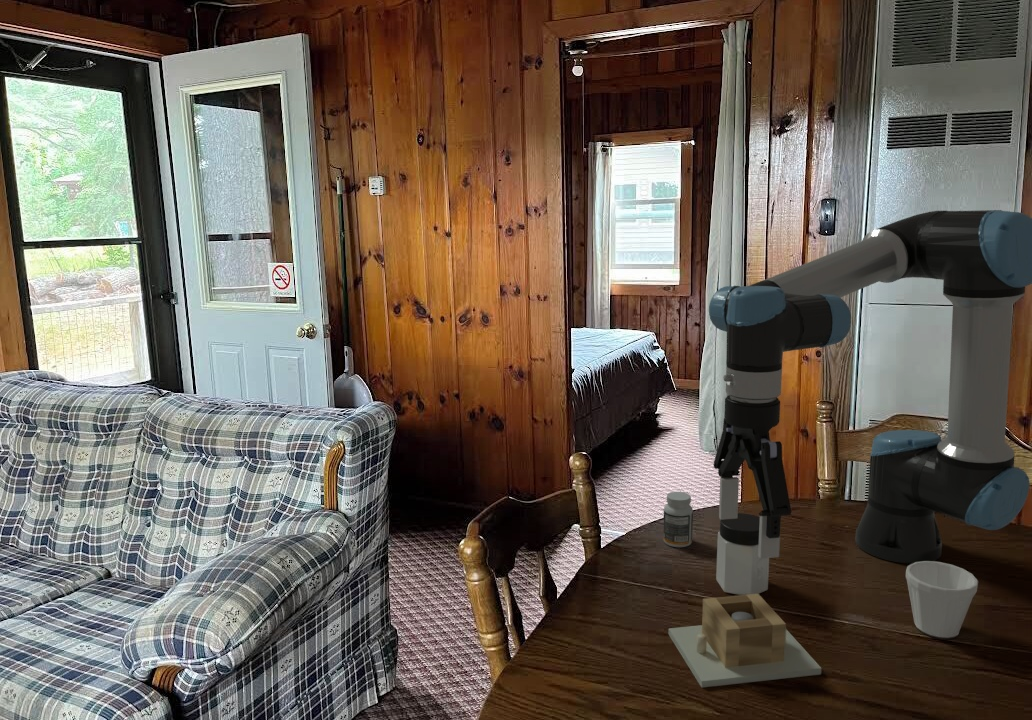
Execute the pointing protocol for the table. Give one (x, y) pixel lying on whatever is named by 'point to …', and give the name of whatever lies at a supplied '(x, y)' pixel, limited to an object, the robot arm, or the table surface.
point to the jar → (741, 556)
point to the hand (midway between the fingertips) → (747, 536)
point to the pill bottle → (678, 520)
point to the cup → (939, 597)
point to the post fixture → (715, 674)
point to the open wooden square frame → (743, 630)
